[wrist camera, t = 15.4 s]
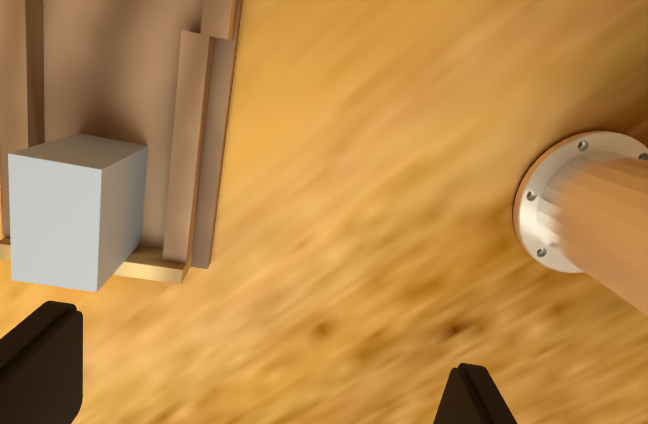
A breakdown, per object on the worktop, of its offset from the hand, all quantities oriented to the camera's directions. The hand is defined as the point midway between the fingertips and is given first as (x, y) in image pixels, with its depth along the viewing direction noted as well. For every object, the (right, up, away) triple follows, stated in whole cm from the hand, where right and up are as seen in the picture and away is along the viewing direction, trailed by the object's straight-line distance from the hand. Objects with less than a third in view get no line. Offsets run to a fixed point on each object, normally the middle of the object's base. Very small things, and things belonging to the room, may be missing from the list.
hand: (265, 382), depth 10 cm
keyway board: (-13, +15, +20) cm, 28 cm away
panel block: (-15, +6, +22) cm, 27 cm away
